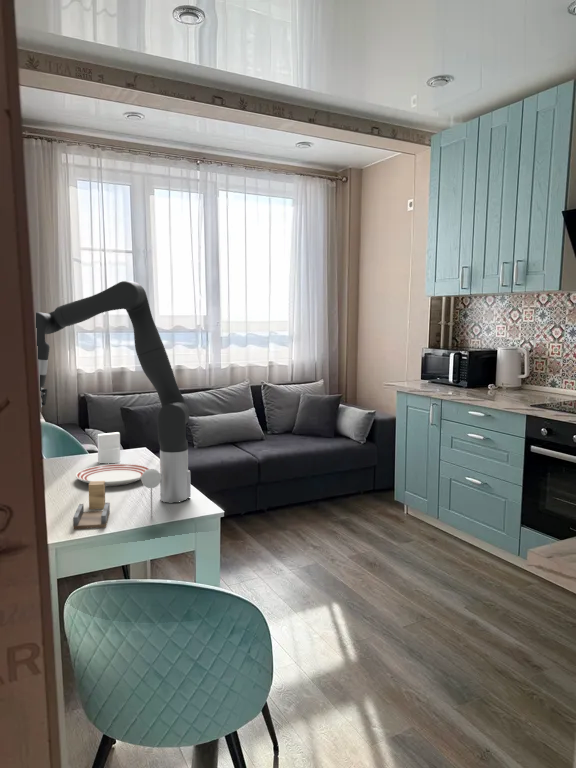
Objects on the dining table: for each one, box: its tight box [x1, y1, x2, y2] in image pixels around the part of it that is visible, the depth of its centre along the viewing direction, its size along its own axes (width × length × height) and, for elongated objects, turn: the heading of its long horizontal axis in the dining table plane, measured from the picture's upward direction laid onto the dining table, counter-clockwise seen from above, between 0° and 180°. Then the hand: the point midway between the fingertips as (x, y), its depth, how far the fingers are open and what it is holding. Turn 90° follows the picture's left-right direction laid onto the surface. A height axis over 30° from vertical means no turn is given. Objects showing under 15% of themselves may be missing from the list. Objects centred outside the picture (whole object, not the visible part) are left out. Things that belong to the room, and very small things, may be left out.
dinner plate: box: [74, 463, 151, 487], centre depth 210 cm, size 28×27×3 cm
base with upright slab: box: [97, 431, 121, 465], centre depth 236 cm, size 9×9×12 cm
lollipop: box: [140, 468, 162, 517], centre depth 171 cm, size 6×6×15 cm
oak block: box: [88, 481, 106, 510], centre depth 179 cm, size 4×4×8 cm
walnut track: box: [72, 502, 111, 530], centre depth 167 cm, size 12×9×4 cm
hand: (27, 419), depth 187 cm, fingers open, 8 cm apart
